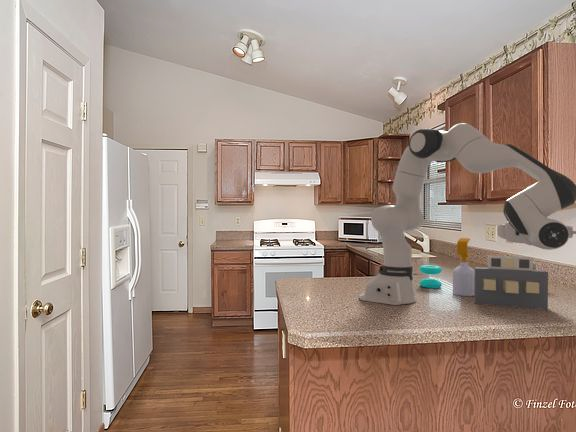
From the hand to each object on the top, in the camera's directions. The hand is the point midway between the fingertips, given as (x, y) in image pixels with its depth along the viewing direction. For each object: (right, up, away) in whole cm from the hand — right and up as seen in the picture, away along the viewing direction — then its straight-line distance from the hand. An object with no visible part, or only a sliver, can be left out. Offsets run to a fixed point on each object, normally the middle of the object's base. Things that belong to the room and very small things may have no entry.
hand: (528, 230), depth 125 cm
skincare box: (+32, -30, +49) cm, 65 cm away
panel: (+3, -30, +16) cm, 34 cm away
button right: (+10, -24, +14) cm, 30 cm away
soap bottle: (-5, -30, +36) cm, 47 cm away
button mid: (+3, -24, +14) cm, 28 cm away
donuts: (-13, -30, +52) cm, 62 cm away
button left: (-3, -24, +20) cm, 31 cm away
